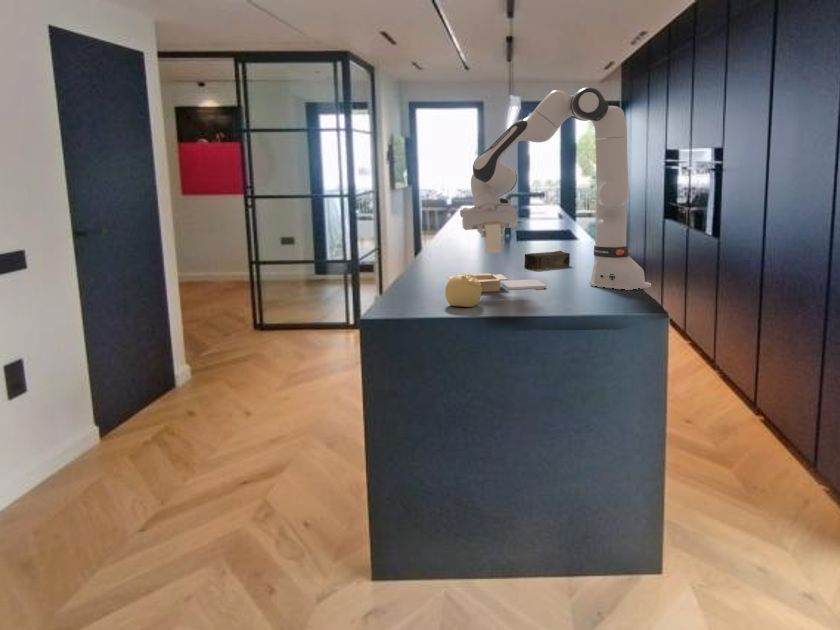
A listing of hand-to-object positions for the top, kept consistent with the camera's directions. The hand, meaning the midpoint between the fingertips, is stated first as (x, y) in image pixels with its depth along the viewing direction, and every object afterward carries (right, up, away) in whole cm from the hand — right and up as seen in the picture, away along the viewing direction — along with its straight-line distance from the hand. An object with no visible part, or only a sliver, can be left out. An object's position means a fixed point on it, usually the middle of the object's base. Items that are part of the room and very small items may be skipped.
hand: (493, 235), depth 270 cm
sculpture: (-12, -26, -24) cm, 37 cm away
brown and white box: (0, -6, +2) cm, 6 cm away
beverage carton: (+29, -8, +54) cm, 61 cm away
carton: (-5, -19, +3) cm, 20 cm away
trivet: (+12, -18, +8) cm, 23 cm away
